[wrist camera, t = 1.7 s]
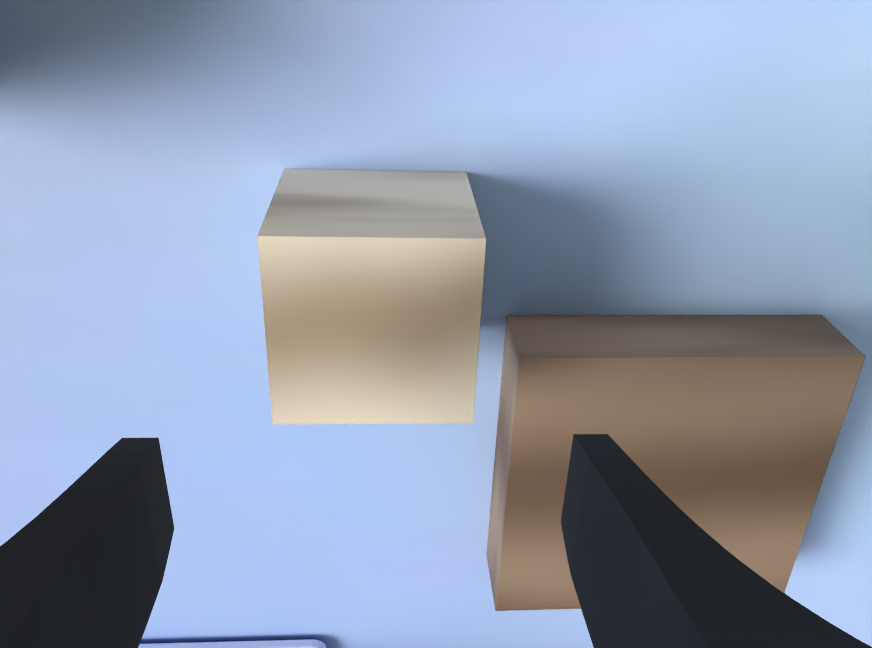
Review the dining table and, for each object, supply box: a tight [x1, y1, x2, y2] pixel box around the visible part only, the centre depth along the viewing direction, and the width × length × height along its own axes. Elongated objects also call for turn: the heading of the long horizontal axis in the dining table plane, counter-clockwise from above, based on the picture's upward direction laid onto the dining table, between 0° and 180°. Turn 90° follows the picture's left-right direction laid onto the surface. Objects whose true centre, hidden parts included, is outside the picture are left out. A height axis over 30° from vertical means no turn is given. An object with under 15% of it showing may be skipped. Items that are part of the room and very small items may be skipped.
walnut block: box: [487, 315, 865, 611], centre depth 25 cm, size 10×10×3 cm
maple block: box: [258, 169, 486, 424], centre depth 20 cm, size 5×5×5 cm
